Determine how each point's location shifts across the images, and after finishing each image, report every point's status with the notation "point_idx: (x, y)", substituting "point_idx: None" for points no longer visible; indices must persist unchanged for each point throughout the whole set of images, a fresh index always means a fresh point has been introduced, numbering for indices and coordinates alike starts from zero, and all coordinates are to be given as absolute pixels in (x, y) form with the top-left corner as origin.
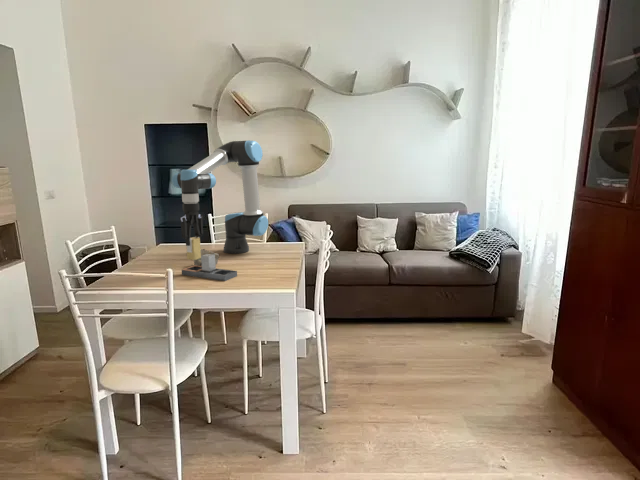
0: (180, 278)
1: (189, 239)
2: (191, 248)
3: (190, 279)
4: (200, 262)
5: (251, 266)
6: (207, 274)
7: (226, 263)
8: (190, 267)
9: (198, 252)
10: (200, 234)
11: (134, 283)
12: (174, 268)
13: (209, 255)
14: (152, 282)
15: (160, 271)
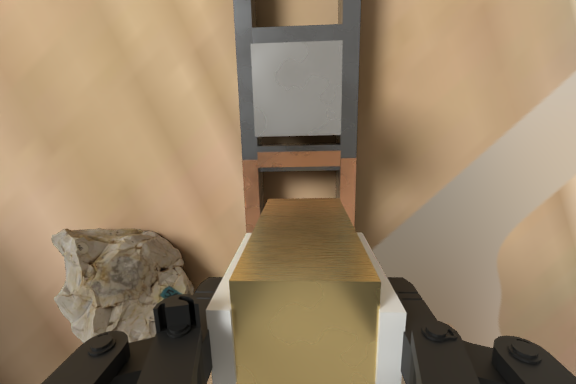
0: (404, 207)
1: (403, 326)
2: (366, 247)
3: (401, 145)
4: (185, 274)
5: (18, 5)
6: (357, 59)
7: (58, 197)
8: None
9: (289, 212)
10: (154, 340)
11: (548, 335)
12: None
13: (300, 67)
14: (510, 277)
15: None
